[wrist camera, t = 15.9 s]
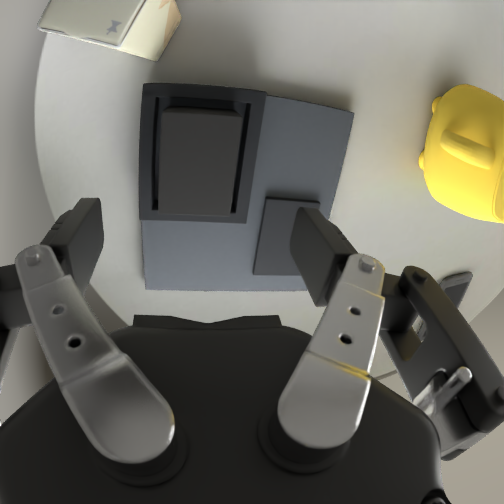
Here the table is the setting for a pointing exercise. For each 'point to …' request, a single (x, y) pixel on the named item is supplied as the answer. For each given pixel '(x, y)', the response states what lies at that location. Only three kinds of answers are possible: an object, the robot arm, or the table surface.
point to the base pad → (241, 191)
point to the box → (115, 23)
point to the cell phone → (452, 292)
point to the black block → (198, 160)
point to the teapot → (466, 153)
